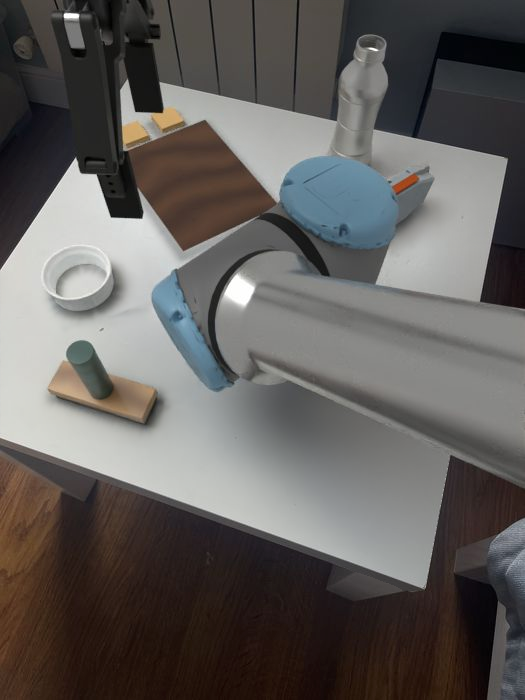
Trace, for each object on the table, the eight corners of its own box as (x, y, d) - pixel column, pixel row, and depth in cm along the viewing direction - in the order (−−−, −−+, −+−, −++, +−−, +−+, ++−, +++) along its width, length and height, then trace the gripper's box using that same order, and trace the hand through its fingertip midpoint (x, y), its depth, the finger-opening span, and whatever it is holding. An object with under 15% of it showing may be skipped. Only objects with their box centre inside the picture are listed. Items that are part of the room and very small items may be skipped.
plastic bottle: (373, 179, 83) (406, 55, 65) (332, 186, 82) (354, 62, 65) (360, 150, 86) (388, 24, 68) (320, 157, 85) (338, 31, 68)
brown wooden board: (279, 211, 80) (279, 205, 78) (184, 256, 75) (183, 251, 74) (205, 125, 88) (204, 119, 87) (116, 161, 84) (114, 155, 83)
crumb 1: (150, 145, 86) (148, 134, 84) (128, 154, 85) (125, 144, 83) (139, 130, 87) (137, 120, 86) (117, 139, 86) (114, 128, 84)
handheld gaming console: (412, 195, 82) (427, 153, 75) (426, 207, 80) (443, 165, 73) (341, 239, 77) (350, 199, 70) (355, 252, 76) (366, 213, 69)
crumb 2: (185, 130, 87) (184, 120, 86) (163, 139, 86) (161, 129, 85) (174, 116, 89) (172, 106, 87) (152, 125, 88) (150, 114, 86)
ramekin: (51, 323, 70) (40, 304, 66) (50, 268, 74) (40, 248, 70) (120, 312, 71) (113, 293, 67) (116, 259, 75) (109, 239, 71)
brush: (145, 426, 63) (125, 385, 53) (53, 397, 65) (17, 352, 54) (159, 396, 65) (142, 351, 55) (69, 369, 66) (36, 320, 56)
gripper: (53, -219, 37) (120, 72, 55) (-70, -22, 25) (69, 266, 43) (163, -215, 37) (193, 75, 55) (93, -16, 24) (162, 270, 43)
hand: (139, 159), depth 49 cm, fingers open, 13 cm apart
